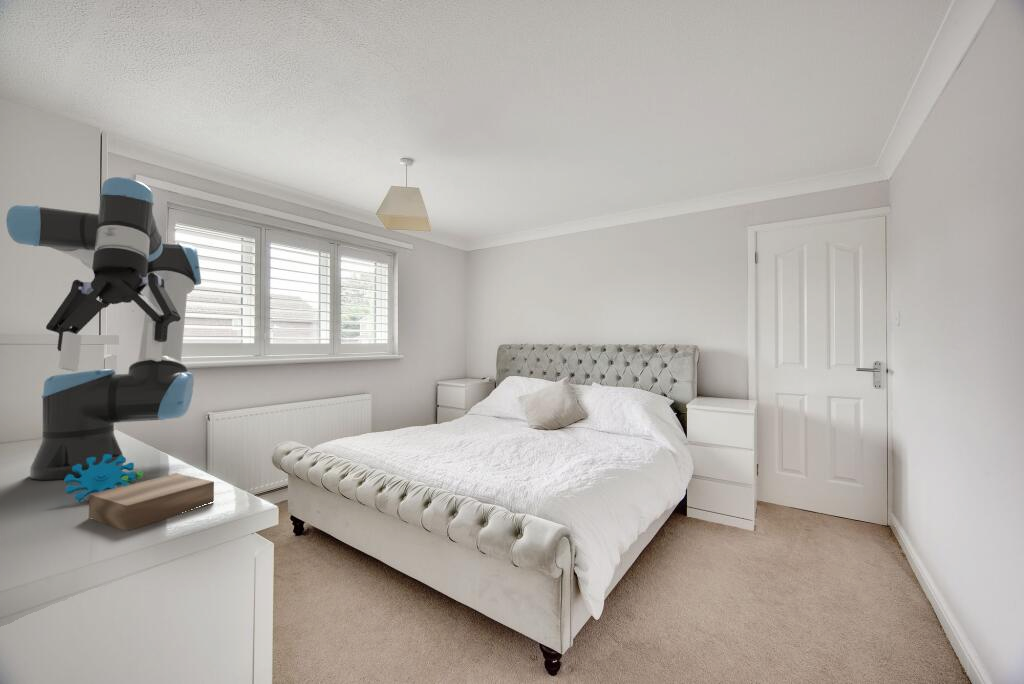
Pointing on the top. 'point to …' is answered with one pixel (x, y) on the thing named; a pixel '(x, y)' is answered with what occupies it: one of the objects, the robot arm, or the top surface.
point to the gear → (101, 476)
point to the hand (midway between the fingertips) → (111, 364)
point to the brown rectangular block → (149, 500)
